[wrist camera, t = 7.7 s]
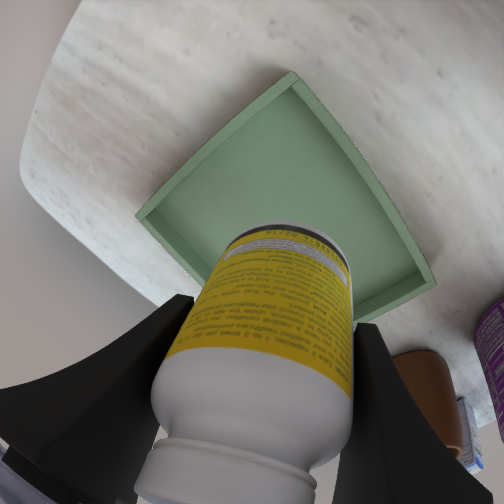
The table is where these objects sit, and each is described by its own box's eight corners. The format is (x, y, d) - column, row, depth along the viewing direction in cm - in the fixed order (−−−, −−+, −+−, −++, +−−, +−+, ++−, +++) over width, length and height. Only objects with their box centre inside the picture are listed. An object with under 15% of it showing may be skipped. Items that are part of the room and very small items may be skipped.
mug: (396, 420, 28) (397, 493, 20) (337, 410, 29) (330, 490, 21) (462, 355, 22) (484, 444, 14) (397, 339, 22) (409, 443, 14)
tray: (430, 268, 19) (437, 284, 17) (282, 343, 25) (278, 360, 23) (294, 71, 15) (291, 69, 13) (147, 204, 21) (133, 216, 19)
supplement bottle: (207, 223, 12) (55, 443, 4) (344, 208, 11) (352, 515, 3) (239, 324, 15) (167, 516, 7) (352, 319, 13) (342, 543, 5)
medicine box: (418, 433, 29) (421, 493, 22) (404, 423, 28) (406, 488, 21) (473, 408, 25) (484, 470, 18) (464, 395, 24) (476, 463, 17)
